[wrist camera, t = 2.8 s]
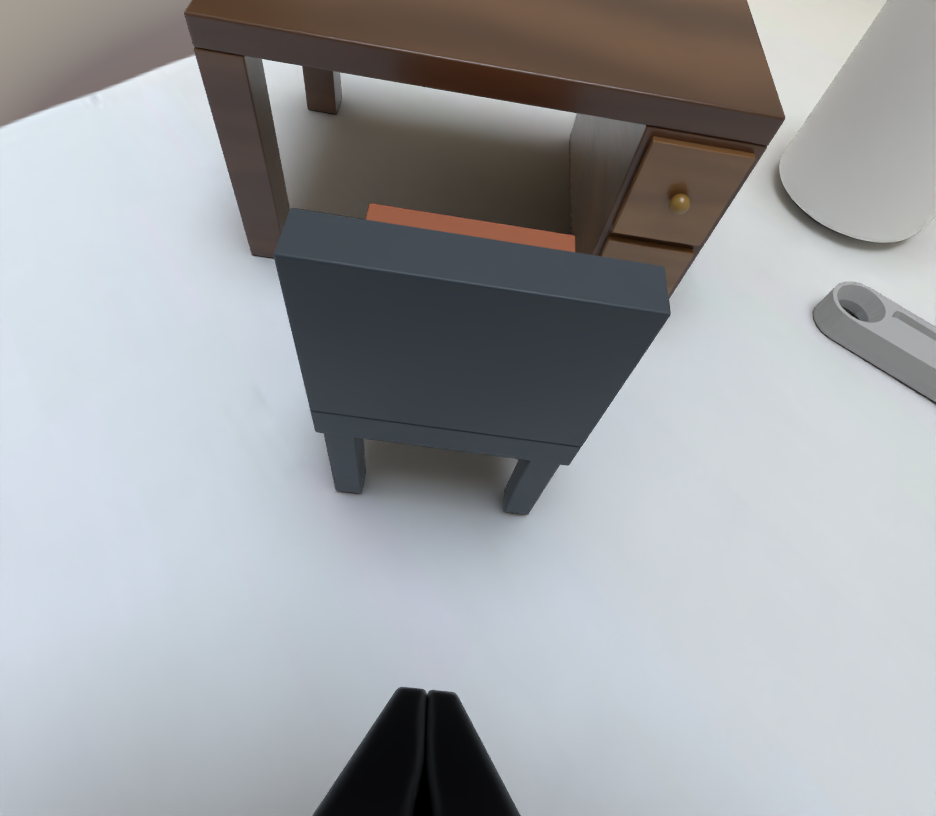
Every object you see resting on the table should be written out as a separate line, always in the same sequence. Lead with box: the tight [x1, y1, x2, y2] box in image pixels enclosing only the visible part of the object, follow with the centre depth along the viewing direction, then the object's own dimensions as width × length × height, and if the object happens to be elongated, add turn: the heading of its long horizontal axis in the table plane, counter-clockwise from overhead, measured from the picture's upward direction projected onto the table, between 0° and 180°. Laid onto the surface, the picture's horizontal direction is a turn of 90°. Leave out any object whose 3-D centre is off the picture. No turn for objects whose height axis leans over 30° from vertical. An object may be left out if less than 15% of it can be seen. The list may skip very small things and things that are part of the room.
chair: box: [273, 203, 671, 515], centre depth 16 cm, size 7×7×11 cm
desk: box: [184, 0, 785, 298], centre depth 24 cm, size 13×18×10 cm
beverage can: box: [779, 0, 936, 243], centre depth 26 cm, size 8×8×12 cm
